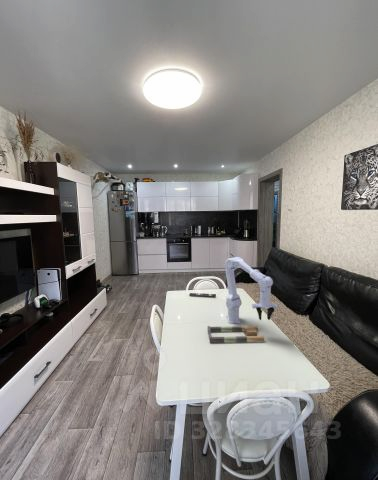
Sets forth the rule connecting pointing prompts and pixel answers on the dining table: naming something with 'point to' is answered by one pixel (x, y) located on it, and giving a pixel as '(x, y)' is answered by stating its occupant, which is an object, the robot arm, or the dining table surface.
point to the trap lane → (236, 338)
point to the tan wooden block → (250, 331)
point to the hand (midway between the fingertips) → (264, 319)
